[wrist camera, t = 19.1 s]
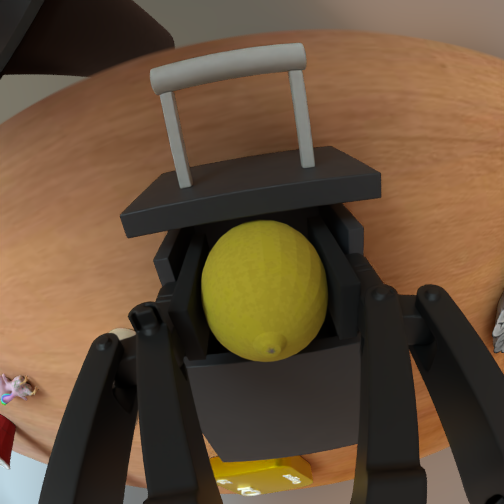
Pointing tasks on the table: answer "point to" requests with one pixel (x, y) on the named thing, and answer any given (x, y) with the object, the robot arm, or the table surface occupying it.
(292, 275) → the lemon
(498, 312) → the brain slice
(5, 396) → the pink horned figurine
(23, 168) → the table surface
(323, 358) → the cabinet
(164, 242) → the drawer
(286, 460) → the element tile
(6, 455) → the plastic cup
